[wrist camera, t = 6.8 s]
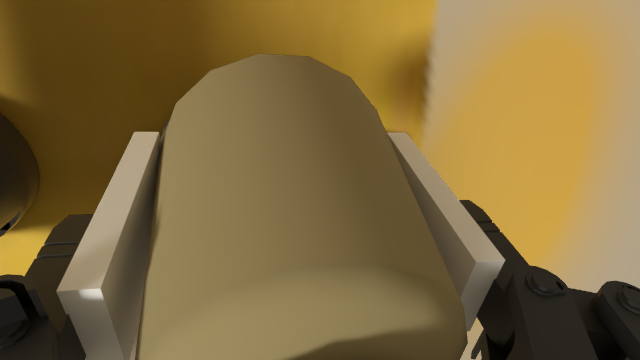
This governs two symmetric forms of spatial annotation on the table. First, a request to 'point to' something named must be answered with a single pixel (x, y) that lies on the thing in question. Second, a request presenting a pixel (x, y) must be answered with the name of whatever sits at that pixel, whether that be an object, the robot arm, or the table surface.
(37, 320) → the robot arm
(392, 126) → the table surface
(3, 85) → the table surface
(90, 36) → the table surface
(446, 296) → the squeeze bottle
